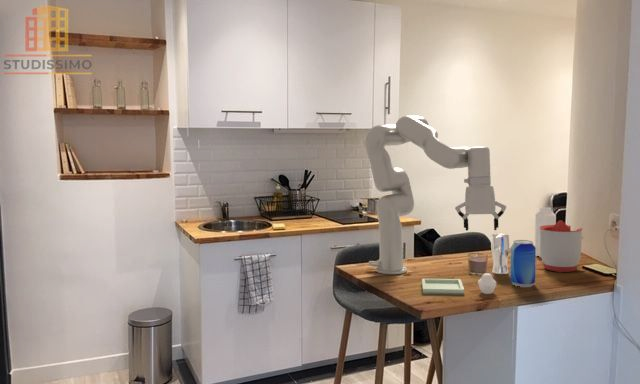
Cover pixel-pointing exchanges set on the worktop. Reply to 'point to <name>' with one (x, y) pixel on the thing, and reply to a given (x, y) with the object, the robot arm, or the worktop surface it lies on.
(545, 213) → the milk
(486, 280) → the white round lump
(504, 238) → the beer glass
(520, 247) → the beer can
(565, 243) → the citrus juicer
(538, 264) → the worktop surface
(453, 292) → the tray
